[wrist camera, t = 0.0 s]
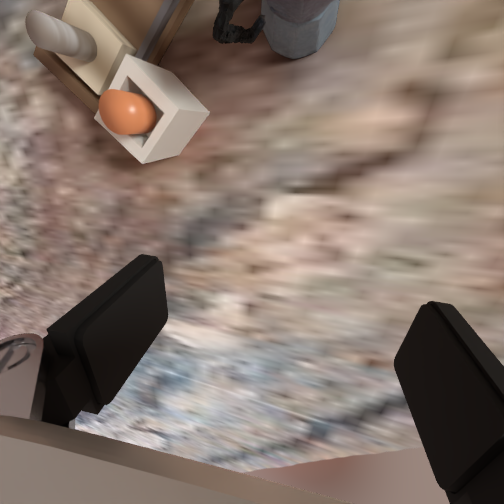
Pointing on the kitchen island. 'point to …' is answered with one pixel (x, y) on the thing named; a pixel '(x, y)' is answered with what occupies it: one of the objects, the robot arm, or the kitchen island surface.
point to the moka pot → (281, 25)
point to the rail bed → (133, 29)
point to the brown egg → (127, 112)
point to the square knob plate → (82, 42)
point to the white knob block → (158, 110)
